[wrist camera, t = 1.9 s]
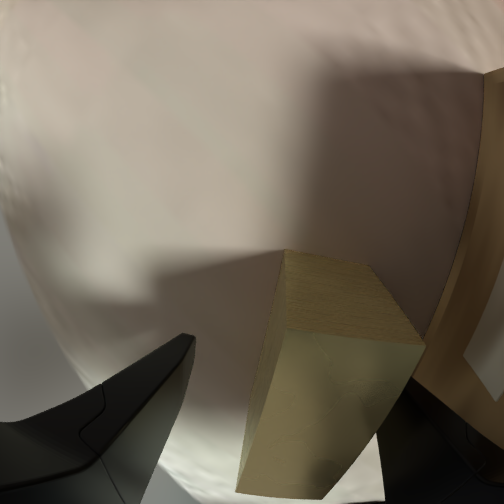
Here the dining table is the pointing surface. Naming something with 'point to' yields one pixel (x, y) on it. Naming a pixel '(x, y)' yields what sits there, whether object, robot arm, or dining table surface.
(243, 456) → the wooden block
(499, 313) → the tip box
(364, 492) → the dining table surface
